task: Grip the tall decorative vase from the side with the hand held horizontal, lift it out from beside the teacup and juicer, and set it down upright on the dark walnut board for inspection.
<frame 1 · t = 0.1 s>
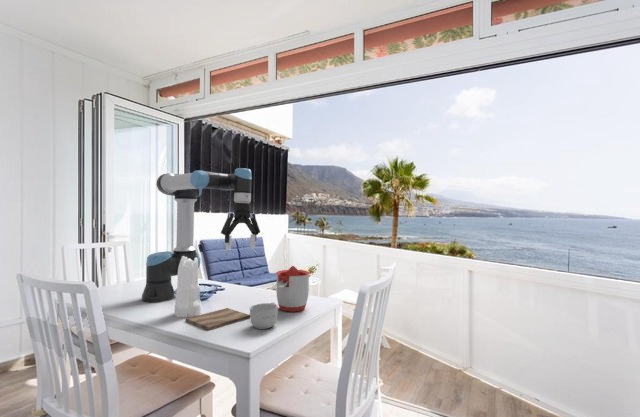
hand: (240, 249, 150), 28 cm above the table, tool pointing down, fingers open, 13 cm apart
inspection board: (218, 319, 137), on the table
decorative vase: (187, 314, 145), on the table
citrus juicer: (291, 309, 154), on the table
teacup: (265, 325, 131), on the table
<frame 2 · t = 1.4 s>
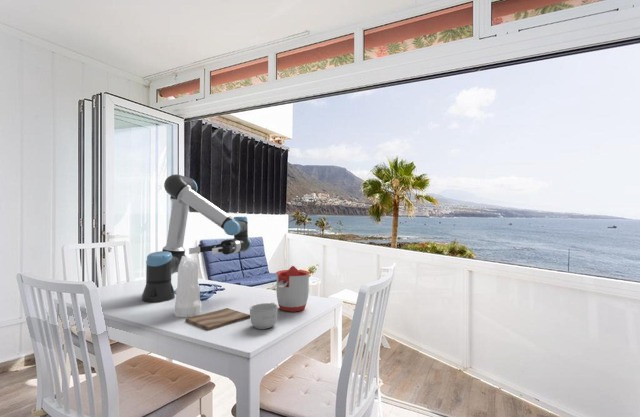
hand: (200, 251, 153), 26 cm above the table, tool horizontal, fingers open, 13 cm apart
nothing on the table moved.
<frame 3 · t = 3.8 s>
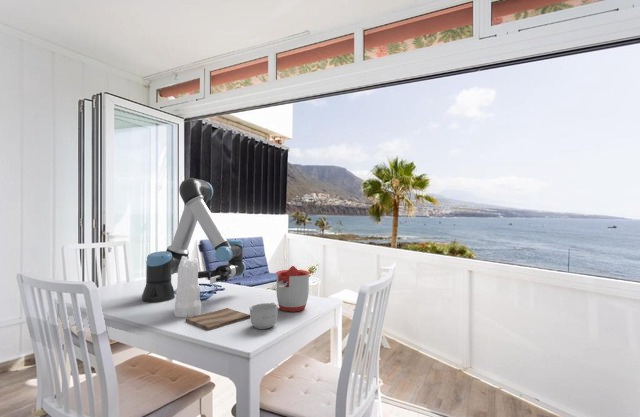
hand: (197, 279, 149), 14 cm above the table, tool horizontal, fingers open, 13 cm apart
nothing on the table moved.
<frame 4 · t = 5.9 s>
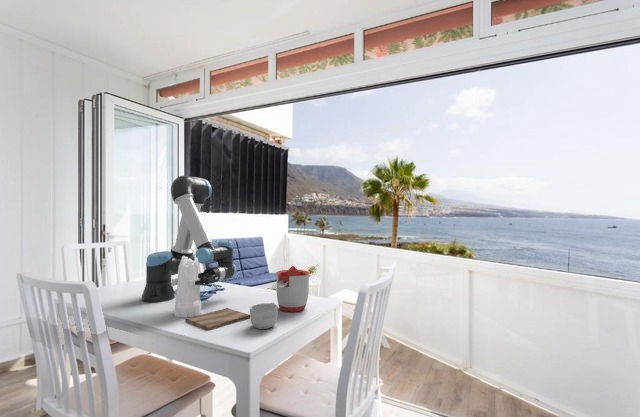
hand: (180, 283, 140), 14 cm above the table, tool horizontal, fingers closed on decorative vase, 8 cm apart
decorative vase: (187, 314, 145), on the table, touching gripper
everything else where it was.
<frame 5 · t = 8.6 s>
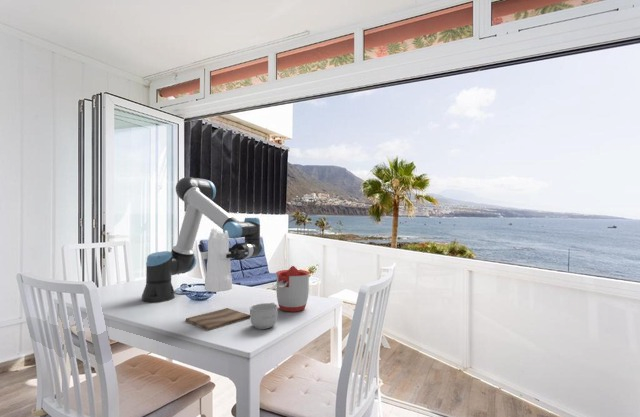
hand: (211, 256, 133), 27 cm above the table, tool horizontal, fingers closed on decorative vase, 8 cm apart
decorative vase: (218, 289, 138), point 12 cm above the table, touching gripper
everything else where it was.
when the fingers open (17 cm above the table, at t = 11.3 s): decorative vase drops 1 cm, resting on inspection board.
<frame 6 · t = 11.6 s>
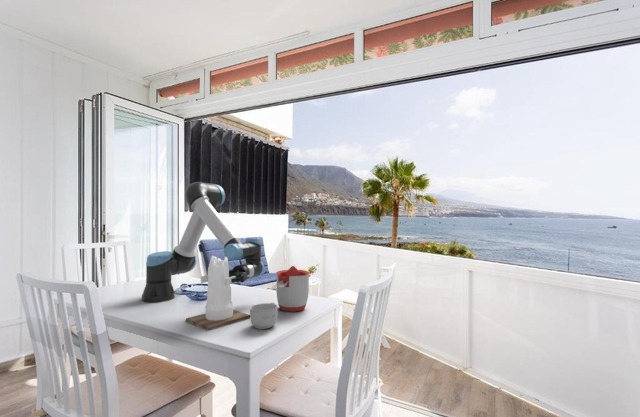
hand: (213, 280, 134), 17 cm above the table, tool horizontal, fingers open, 11 cm apart
decorative vase: (219, 316, 137), point 1 cm above the table, touching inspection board
everything else where it was.
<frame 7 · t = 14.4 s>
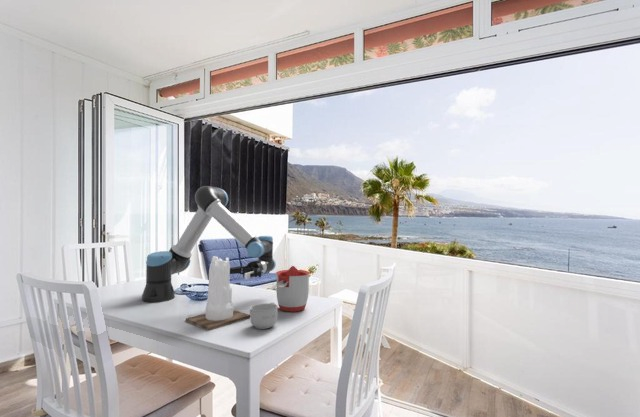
hand: (232, 275, 146), 17 cm above the table, tool horizontal, fingers open, 13 cm apart
nothing on the table moved.
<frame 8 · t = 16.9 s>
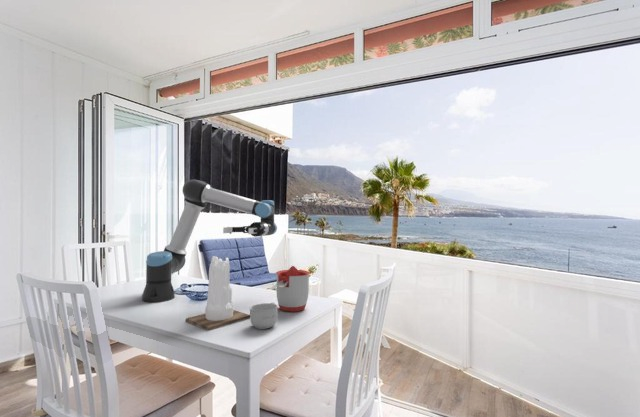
hand: (236, 230, 155), 36 cm above the table, tool horizontal, fingers open, 13 cm apart
nothing on the table moved.
at the end: decorative vase inside the target area on the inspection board (0.1 cm from its centre), point 1.0 cm above the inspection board's base; decorative vase tilted 0°; the gripper is holding nothing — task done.
